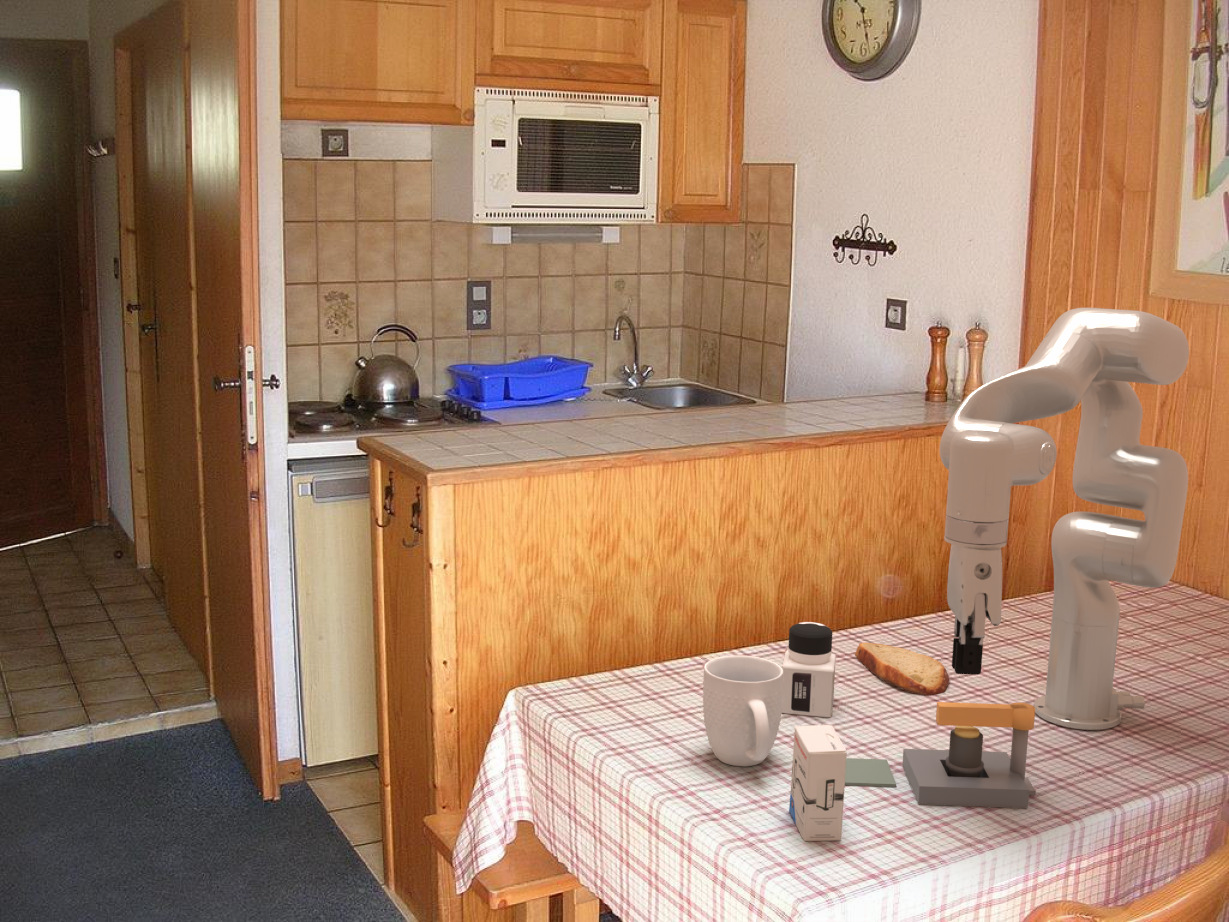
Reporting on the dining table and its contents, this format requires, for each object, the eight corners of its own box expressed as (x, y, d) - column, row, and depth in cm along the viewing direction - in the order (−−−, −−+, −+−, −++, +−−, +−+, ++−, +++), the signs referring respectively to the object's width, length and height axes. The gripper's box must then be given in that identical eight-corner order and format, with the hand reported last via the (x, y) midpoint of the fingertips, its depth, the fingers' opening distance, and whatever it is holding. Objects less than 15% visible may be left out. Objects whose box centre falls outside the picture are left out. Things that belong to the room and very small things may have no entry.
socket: (1019, 769, 181) (1024, 711, 179) (1043, 808, 169) (1049, 746, 167) (902, 765, 181) (906, 707, 180) (918, 804, 170) (922, 742, 168)
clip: (1030, 721, 175) (1031, 702, 174) (1036, 730, 172) (1038, 711, 171) (934, 718, 175) (935, 699, 175) (939, 727, 172) (940, 708, 172)
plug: (977, 779, 178) (981, 723, 176) (985, 795, 173) (990, 737, 171) (940, 777, 178) (944, 722, 176) (948, 793, 173) (952, 736, 171)
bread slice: (860, 650, 230) (861, 629, 230) (963, 667, 222) (965, 646, 222) (829, 681, 215) (830, 659, 214) (939, 701, 207) (941, 678, 206)
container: (831, 718, 198) (835, 635, 196) (779, 713, 200) (783, 631, 197) (833, 700, 205) (837, 620, 203) (783, 695, 207) (787, 616, 205)
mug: (801, 782, 176) (806, 689, 173) (722, 789, 173) (726, 695, 171) (764, 738, 190) (767, 652, 187) (691, 744, 187) (693, 657, 185)
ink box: (788, 810, 167) (792, 723, 165) (826, 809, 168) (830, 722, 166) (803, 842, 159) (807, 751, 157) (843, 841, 159) (848, 750, 157)
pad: (886, 762, 182) (886, 759, 182) (896, 787, 175) (896, 784, 175) (828, 760, 183) (828, 757, 183) (835, 784, 175) (835, 782, 175)
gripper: (1022, 546, 155) (1011, 694, 159) (991, 516, 170) (982, 652, 174) (958, 544, 156) (948, 692, 159) (933, 515, 171) (924, 650, 174)
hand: (966, 670), depth 167 cm, fingers closed
